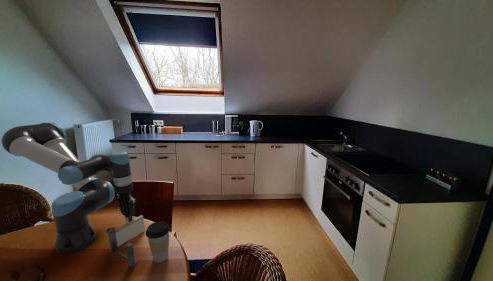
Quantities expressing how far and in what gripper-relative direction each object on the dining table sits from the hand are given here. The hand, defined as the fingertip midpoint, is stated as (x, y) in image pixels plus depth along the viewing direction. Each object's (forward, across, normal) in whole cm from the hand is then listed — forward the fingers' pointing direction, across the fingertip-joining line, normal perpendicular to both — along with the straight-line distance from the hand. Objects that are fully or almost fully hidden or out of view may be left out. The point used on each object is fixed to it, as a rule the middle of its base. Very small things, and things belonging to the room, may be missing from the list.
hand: (130, 226), depth 109 cm
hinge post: (+3, +6, -12) cm, 14 cm away
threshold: (+3, +14, -12) cm, 19 cm away
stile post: (+3, +21, -14) cm, 25 cm away
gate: (+2, +6, -4) cm, 7 cm away
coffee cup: (+3, +28, -5) cm, 28 cm away
